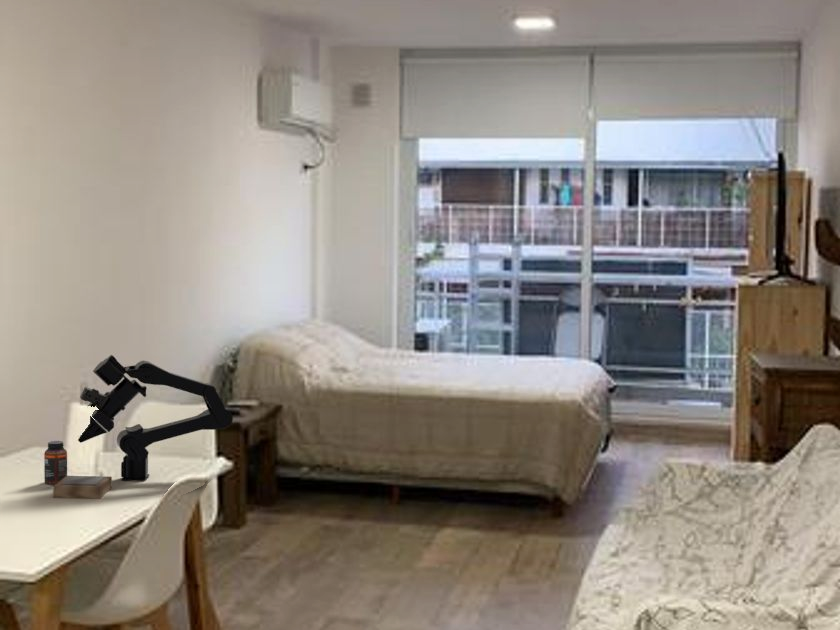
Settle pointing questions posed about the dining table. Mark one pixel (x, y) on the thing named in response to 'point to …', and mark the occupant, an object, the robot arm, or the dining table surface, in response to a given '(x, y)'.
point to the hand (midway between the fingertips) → (77, 438)
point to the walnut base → (82, 487)
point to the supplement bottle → (55, 462)
